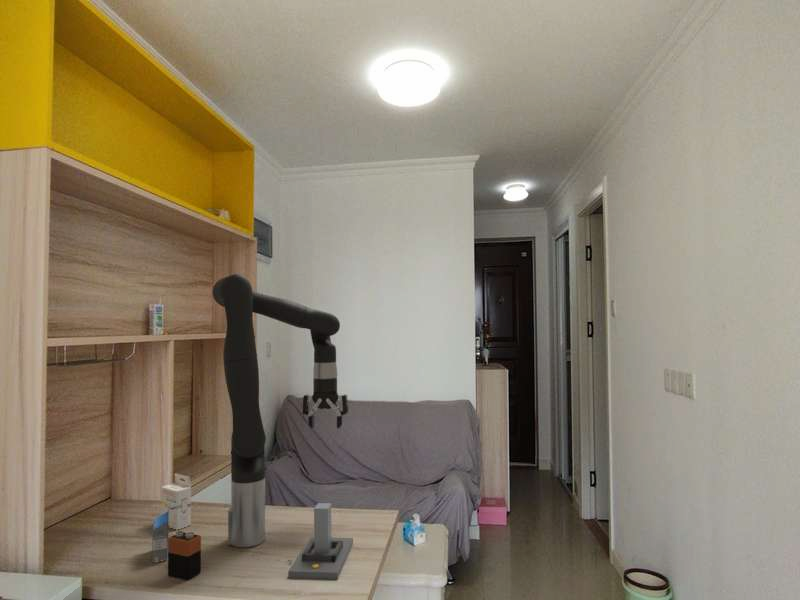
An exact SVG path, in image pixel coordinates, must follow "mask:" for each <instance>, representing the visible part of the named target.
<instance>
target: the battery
mask: <svg viewBox="0 0 800 600" xmlns="http://www.w3.org/2000/svg"><path fill="white" fill-rule="evenodd" d="M201 561H202V536H201V535H199V534H195V532H194V531H188V532H184V531H182V530H177V531H176V532H175V534H173V535H172V536H169V538H168V560H167V576H169V575H170V576H169V577H172V576H173V577H172V578H176V577H177V579H180V578H181V579H182V580H184V579H185V580H184V581H189V580H191V579H193V578H194V577H196V576H198V575H199V574H200V573H201V571H202V569H201V565H202V564H201V563H202V562H201ZM192 577H193V578H192Z"/></svg>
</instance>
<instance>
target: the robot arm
mask: <svg viewBox="0 0 800 600" xmlns="http://www.w3.org/2000/svg"><path fill="white" fill-rule="evenodd" d="M212 297H213V300H214V301H215V302H216V303H217V304H218V305H219V306H221V307H223V308H224V311H225V318H226V332H225V339H224V345H223V351H222V352H223V353H222V355H223V357H222V359H223V370H224V377H225V378H224V379H225V384H226V388H227V393H228V396H229V397H228V398H229V401H230V406H231V412H232V414H231V415H232V432H231V439H230V440H231V442H230V443H231V444H230V446H231V447H230V448H231V449H230V450H231V451H230V453H231V454H230V456H231V458H230V459H231V461H230V464H231V465H230V471H231V473H230V474H231V475H230V476H231V478H230V479H231V480H230V481H231V484H230V485H231V489H230V490H231V493H230V494H231V498H230V501H231V502H230V507H229V509H228V510H227V512H228V515H227V521H228V523H227V526H228V527H227V545H228V546H229V545H231V546H233V547H236V548H251V547H255V546H258V545H260V544H261V543H263V542H264V541H266V540H265V539H266V463H265V461H266V460H265V445H266V441H267V438H266V431H265V430H264V425H263V420H262V415H261V410H260V409H261V408H260V374H259V373H260V371H259V361H258V353H257V346H256V338H255V336H256V335H255V328H254V320H253V318H254V317H253V316H254V315H253V313H255V314H256V315H257V314H258V315H261V316H264V317H267V318H270V319H273V320H276V321H279V322H282V323H284V324H287V325H289V326H293V327H295V328H299V329H307V330H309V331H310V336H311V342H312V346H313V371H312V372H313V373H312V374H313V375H312V376H313V379H312V381H313V382H312V385H313V386H312V387H313V388H312V389H313V391H312V393H313V394H311V395H309V393H308V394H305V395H303V398H302V414H303V415H306V416H307V417H308V421H307V422H308V427H310V429H314V428H315V413H316V412H317V410H318V409H319V410H325V409H326V410H330V409H332V411H333V412H334V413H335V414H336V415H337V416H336V429H341V427H342V426H343V416H344V415H347V414H348V413H349V405H348V403H349V402H348V395H347V394H342V395H340V394H338V367H337V349H336V348H337V347H336V346H335V344H333V343H332V340H331V337H332V336H335V335H336V334H337V333H338V332H339V330H340V327H341V324H340V320H339V318H338V317H337V316H335V315H334V314H332V313H330V312H326V311H322V310H319V309H314V308H311V307H308V306H306V305H303V304H301V303H298V302H295V301H293V300H289V299H285V298H280V297H276V296H272V295H266V294H264V293H260V292H258V291H255V290H254V289H253V287H252V283H251V282H250V281H249V279H248V278H247V277H246V276H244V275H242V274H239V273H233V274H230V275H227V276H224V277H221V279H219V280H218V281H216V282H215V284H214V285H213V287H212ZM338 400H339V401H340V403H342V410H341V408H340V407H339V405H338V403H337V402H338ZM311 401H312V402H313V403H314V404H313V406H312V407H311V409H310V410H309V407H310V406H309V405H310V404H309V403H311Z"/></svg>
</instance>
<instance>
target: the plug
mask: <svg viewBox="0 0 800 600" xmlns="http://www.w3.org/2000/svg"><path fill="white" fill-rule="evenodd" d="M313 509H314V510H313V537H314V553H322V554H330V552H331V550H332V538H333V537H332V503H330V502H325V503H324V502H318V503H317V504H316V505H315V507H314V508H313Z"/></svg>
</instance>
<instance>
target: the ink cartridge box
mask: <svg viewBox="0 0 800 600" xmlns="http://www.w3.org/2000/svg"><path fill="white" fill-rule="evenodd" d="M181 479H183V480H181ZM169 502H170V505H169ZM160 503H161V509H160V514H161V515H163V514H164V513H166V512H168V509H169V527H171V528H174V529H177V530H176V531H179V530H178V529H180V530H182V529H185V528H187V526H188V527H190V526H191V524H192V522H191V518H192V514H191V513H192V511H191V510H192V486H191V477H190V476H187V475H182V474H179V473H174V482H173V483H169V484H167V485H162V486H161V502H160ZM161 515H160V516H161ZM189 525H190V526H189ZM184 527H185V528H184ZM171 528H170V529H171ZM181 528H182V529H181ZM174 529H173V530H174Z"/></svg>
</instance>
